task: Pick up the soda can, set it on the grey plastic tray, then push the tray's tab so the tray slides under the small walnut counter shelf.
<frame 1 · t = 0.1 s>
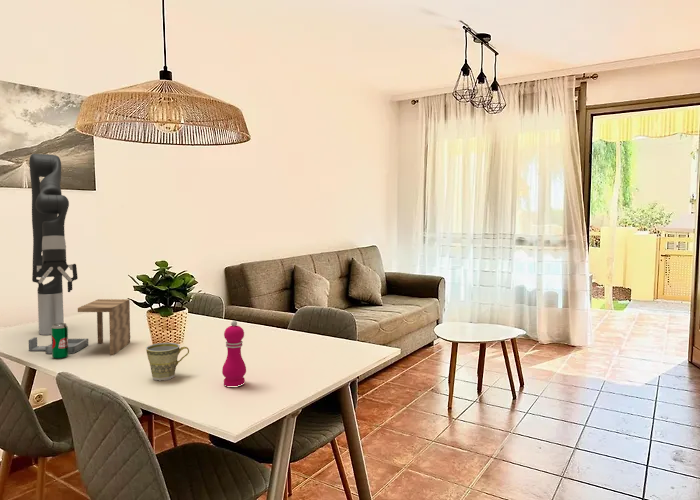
hand: (55, 293, 185), 22 cm above the table, tool pointing down, fingers open, 8 cm apart
ceramic cup: (168, 377, 162), on the table
pepper mill: (234, 385, 156), on the table
tray: (56, 343, 191), point 2 cm above the table, slide at 0.0 cm
soda can: (60, 357, 182), on the table
counter: (105, 348, 193), on the table
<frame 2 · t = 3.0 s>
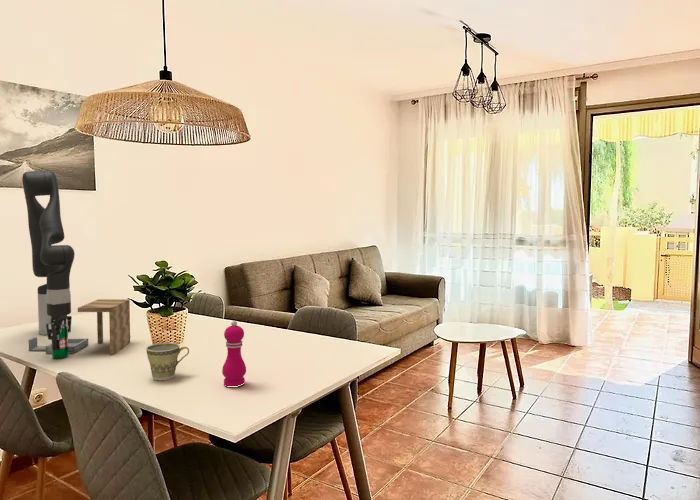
hand: (60, 347, 181), 3 cm above the table, tool pointing down, fingers closed on soda can, 5 cm apart
soda can: (60, 357, 182), on the table, touching gripper
everything else where it was.
when the fingers open (6 cm above the table, at t = 9.4 s): soda can drops 1 cm, resting on tray.
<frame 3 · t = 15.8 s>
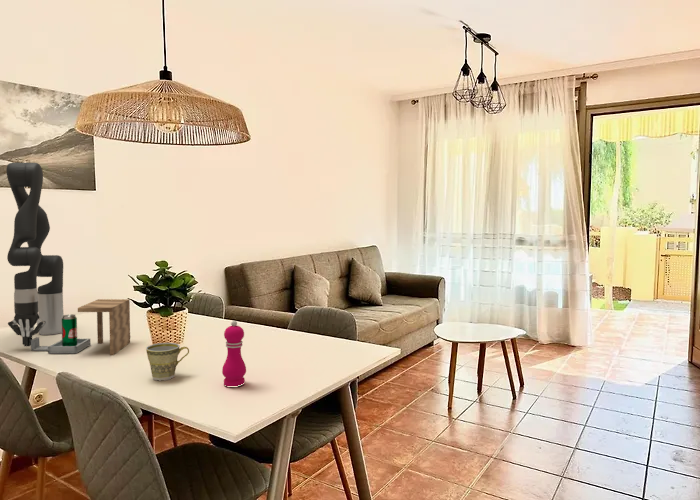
hand: (27, 345, 190), 2 cm above the table, tool pointing down, fingers closed
tray: (58, 343, 191), point 2 cm above the table, slide at 0.8 cm, touching gripper, soda can
soda can: (69, 347, 191), point 1 cm above the table, touching tray
everything else where it was.
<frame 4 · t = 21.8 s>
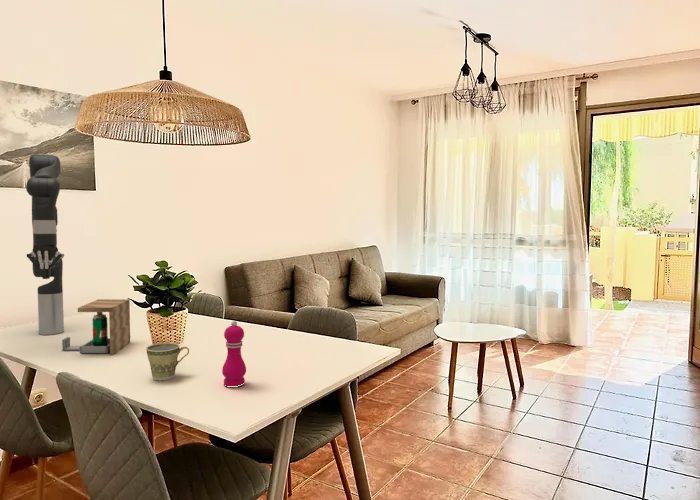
hand: (46, 278, 189), 27 cm above the table, tool pointing down, fingers closed
tray: (89, 343, 192), point 2 cm above the table, slide at 12.0 cm, touching soda can
soda can: (100, 347, 192), point 1 cm above the table, touching tray
everything else where it was.
at the end: tray slide at 12.0 cm; soda can inside the target area on the tray (0.1 cm from its centre), point 0.9 cm above the tray's base; soda can tilted 0° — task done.
